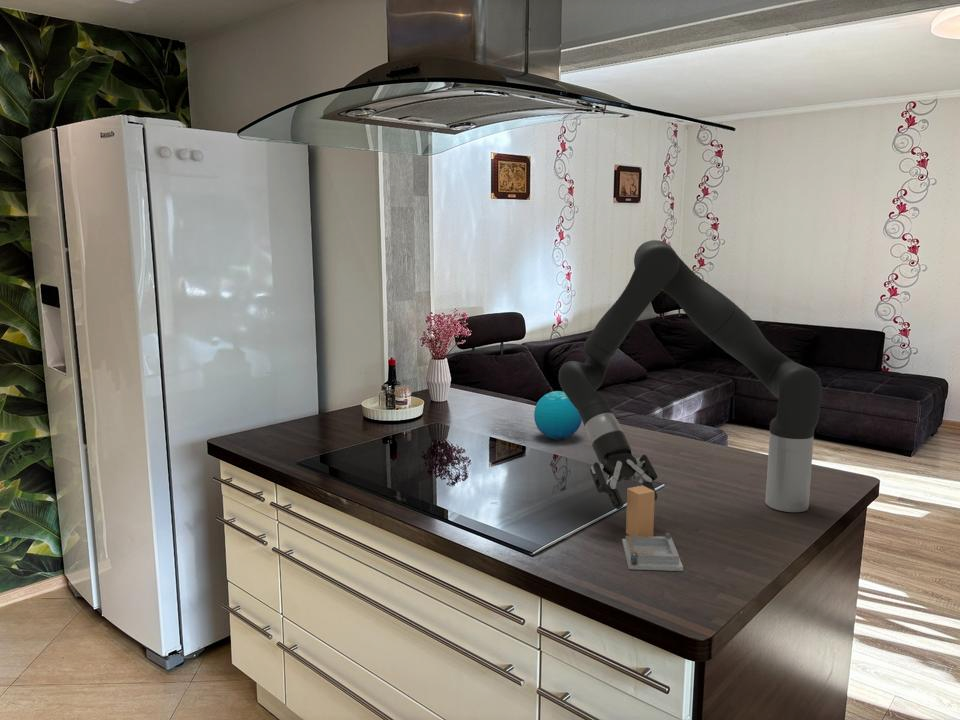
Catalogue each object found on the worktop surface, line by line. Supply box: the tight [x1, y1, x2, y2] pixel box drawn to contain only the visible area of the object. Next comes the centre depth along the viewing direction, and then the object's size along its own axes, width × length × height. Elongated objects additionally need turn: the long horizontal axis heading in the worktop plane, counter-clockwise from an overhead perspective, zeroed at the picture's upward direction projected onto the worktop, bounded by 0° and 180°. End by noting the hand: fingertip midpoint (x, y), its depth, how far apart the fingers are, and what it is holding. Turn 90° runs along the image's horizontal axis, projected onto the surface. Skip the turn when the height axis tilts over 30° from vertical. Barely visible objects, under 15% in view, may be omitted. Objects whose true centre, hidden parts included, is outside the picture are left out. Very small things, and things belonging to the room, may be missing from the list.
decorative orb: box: [533, 390, 583, 440], centre depth 219 cm, size 15×15×15 cm
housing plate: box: [621, 532, 684, 572], centre depth 138 cm, size 12×10×3 cm
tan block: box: [625, 485, 656, 536], centre depth 148 cm, size 4×4×10 cm
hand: (637, 504), depth 148 cm, fingers open, 8 cm apart
